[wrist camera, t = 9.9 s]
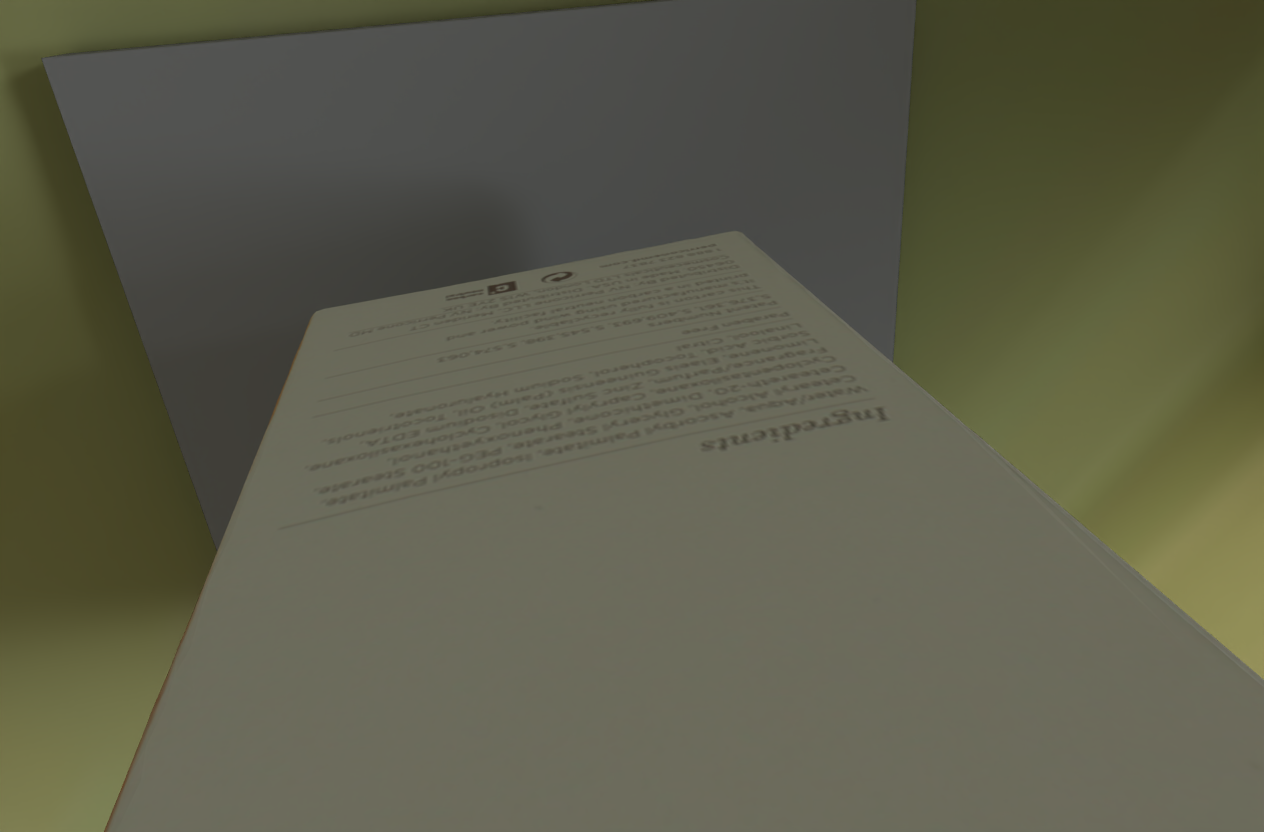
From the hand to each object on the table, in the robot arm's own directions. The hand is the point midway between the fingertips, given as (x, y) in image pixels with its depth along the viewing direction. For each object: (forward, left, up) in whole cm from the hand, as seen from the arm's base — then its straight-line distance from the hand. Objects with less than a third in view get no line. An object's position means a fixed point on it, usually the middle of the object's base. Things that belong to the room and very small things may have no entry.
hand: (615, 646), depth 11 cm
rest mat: (0, 0, -8) cm, 8 cm away
